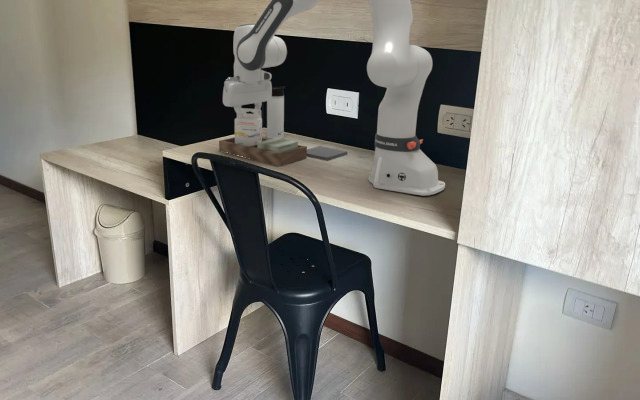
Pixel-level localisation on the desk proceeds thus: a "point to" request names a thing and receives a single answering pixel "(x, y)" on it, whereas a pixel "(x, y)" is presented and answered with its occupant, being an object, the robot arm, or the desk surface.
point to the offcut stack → (277, 145)
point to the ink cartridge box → (249, 128)
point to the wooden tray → (263, 152)
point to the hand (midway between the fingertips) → (248, 117)
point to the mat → (325, 153)
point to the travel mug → (276, 114)
